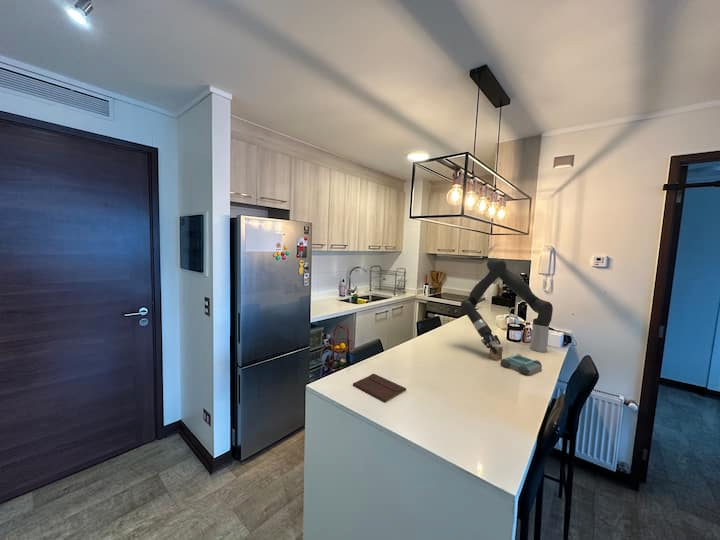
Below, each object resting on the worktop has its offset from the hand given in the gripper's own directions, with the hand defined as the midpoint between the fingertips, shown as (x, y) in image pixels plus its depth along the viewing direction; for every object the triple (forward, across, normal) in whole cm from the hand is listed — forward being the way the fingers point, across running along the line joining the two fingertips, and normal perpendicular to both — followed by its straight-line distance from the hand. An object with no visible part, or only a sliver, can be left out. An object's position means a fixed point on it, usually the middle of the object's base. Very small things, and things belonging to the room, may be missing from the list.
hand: (498, 352), depth 173 cm
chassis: (+12, 0, -6) cm, 14 cm away
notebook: (-3, -83, +9) cm, 84 cm away
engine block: (+2, 0, +4) cm, 5 cm away
